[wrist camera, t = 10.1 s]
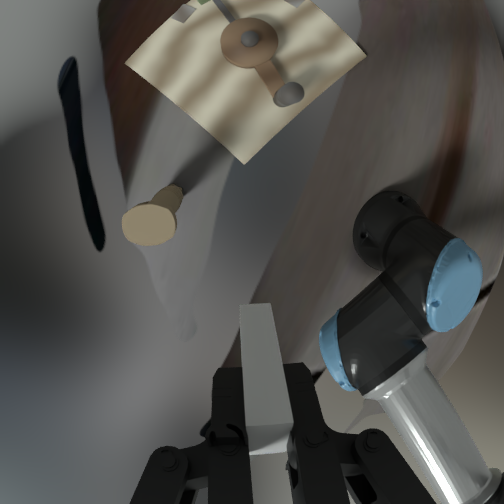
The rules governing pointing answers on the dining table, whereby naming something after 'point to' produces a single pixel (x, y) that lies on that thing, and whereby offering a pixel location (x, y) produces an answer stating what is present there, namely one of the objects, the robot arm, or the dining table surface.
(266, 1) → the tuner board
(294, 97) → the brown handled round piece
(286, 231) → the dining table surface
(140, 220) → the handle
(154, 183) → the dining table surface
